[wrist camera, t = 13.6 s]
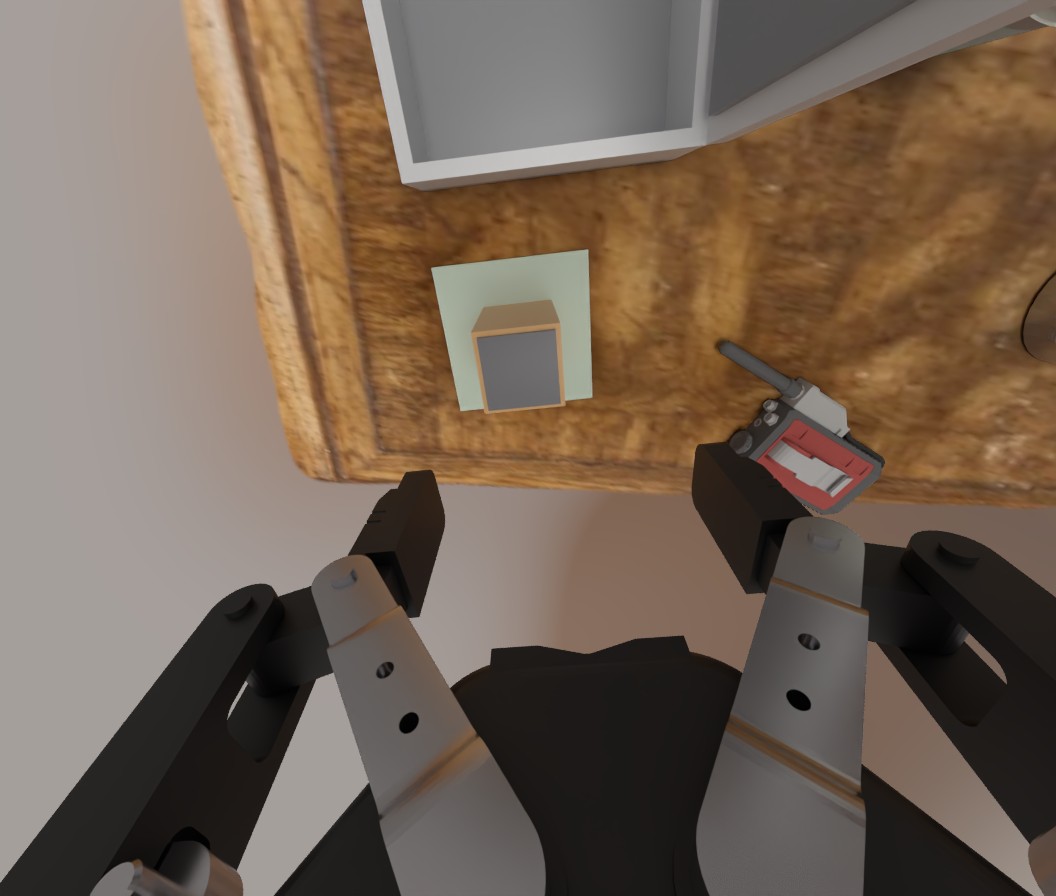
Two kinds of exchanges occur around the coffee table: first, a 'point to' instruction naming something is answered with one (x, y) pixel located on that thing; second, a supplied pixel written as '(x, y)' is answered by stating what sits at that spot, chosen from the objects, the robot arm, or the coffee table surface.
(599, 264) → the coffee table surface
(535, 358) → the block
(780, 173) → the coffee table surface
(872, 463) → the walkie-talkie
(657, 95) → the equipment case
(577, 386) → the pad
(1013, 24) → the coffee cup
